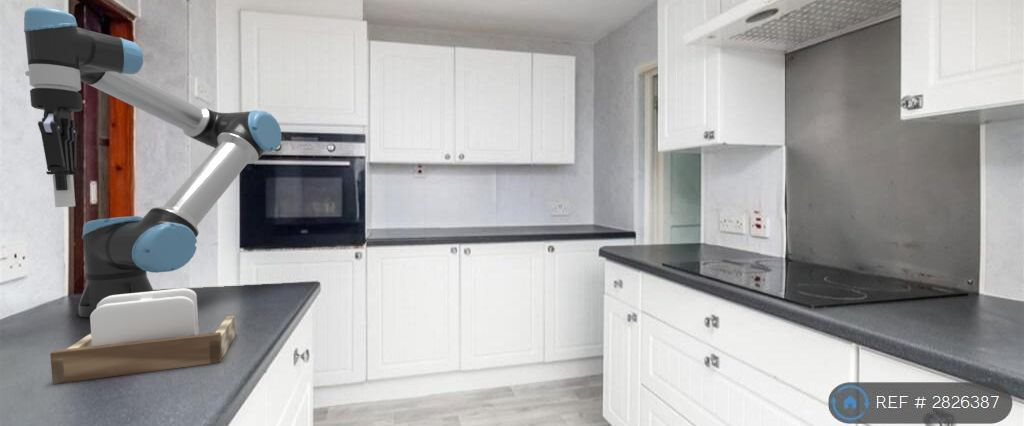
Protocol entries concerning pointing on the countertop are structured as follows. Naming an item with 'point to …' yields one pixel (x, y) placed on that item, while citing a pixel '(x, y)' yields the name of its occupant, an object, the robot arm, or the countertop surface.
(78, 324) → the countertop surface
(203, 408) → the countertop surface
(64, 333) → the countertop surface
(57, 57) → the robot arm
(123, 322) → the cable organizer
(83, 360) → the wooden tray
